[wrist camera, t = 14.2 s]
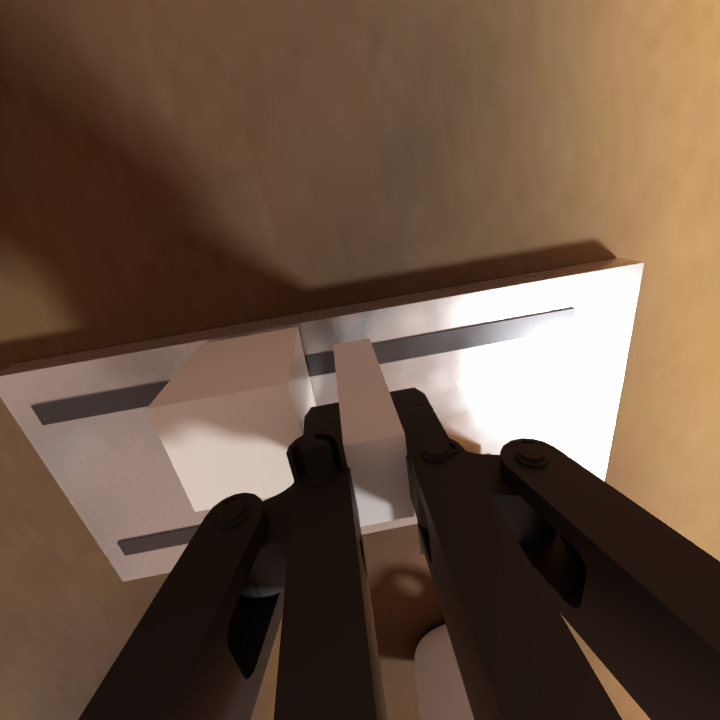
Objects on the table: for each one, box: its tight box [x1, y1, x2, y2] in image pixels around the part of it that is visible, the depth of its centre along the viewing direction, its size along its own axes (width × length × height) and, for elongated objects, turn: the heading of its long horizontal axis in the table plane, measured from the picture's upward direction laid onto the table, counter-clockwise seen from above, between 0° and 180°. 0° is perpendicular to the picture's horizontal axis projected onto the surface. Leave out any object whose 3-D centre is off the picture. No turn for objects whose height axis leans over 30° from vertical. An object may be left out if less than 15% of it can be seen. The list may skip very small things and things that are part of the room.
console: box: [0, 258, 644, 582], centre depth 18 cm, size 28×13×2 cm, turn 99°
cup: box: [414, 624, 474, 720], centre depth 24 cm, size 11×8×8 cm
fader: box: [146, 327, 316, 512], centre depth 13 cm, size 4×4×5 cm
